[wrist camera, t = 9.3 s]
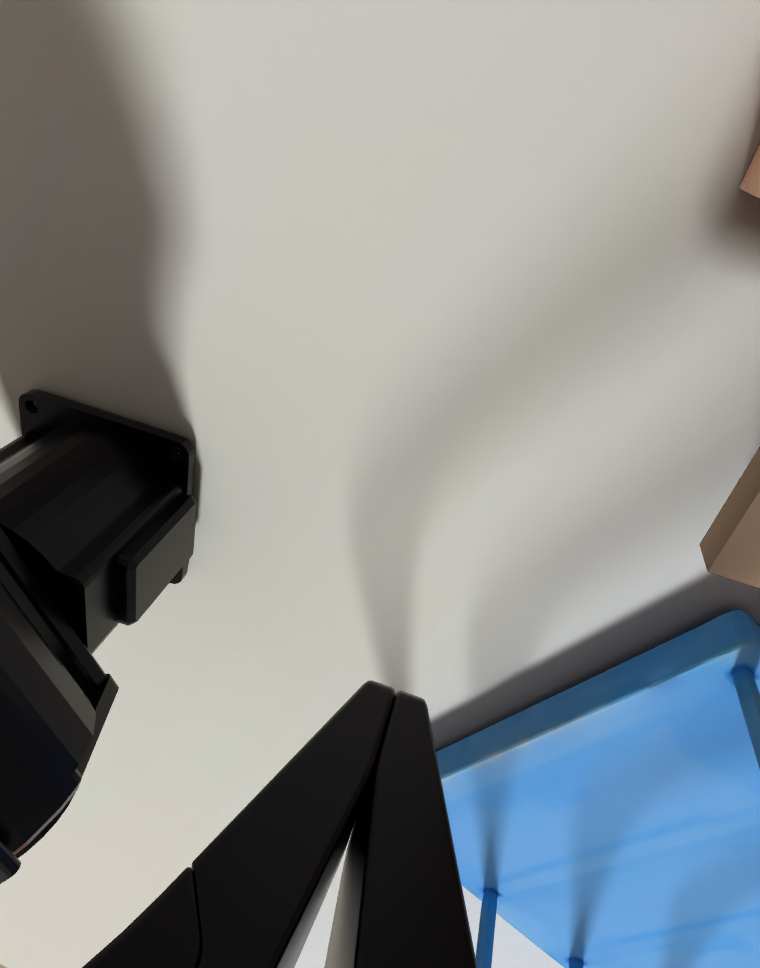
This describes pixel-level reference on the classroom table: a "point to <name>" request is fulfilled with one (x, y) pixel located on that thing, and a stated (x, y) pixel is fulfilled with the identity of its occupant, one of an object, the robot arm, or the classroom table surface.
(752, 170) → the pink slab with nub
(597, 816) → the file sorter
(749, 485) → the low shelf
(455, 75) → the classroom table surface
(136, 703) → the classroom table surface
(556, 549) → the classroom table surface
